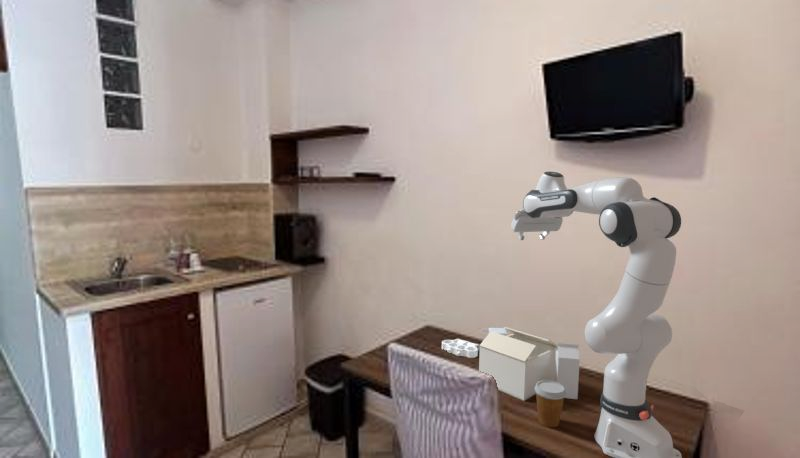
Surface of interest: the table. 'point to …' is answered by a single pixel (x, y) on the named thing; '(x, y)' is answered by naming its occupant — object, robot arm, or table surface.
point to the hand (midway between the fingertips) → (531, 239)
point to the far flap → (531, 336)
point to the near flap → (508, 346)
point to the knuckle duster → (461, 348)
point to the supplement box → (498, 331)
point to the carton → (519, 368)
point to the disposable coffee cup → (549, 402)
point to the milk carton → (567, 368)
